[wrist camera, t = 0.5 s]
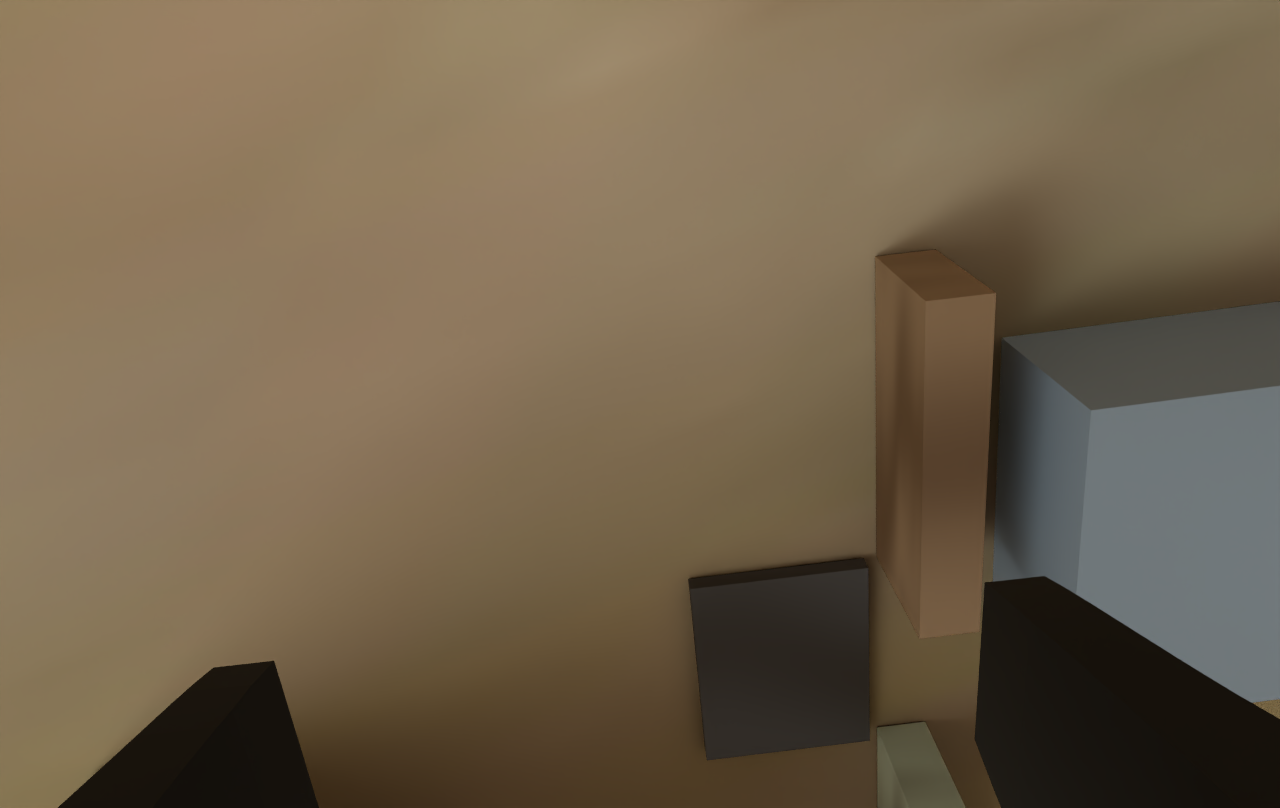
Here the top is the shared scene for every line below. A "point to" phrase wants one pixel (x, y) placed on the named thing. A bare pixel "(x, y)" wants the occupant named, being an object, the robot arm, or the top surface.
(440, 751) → the top surface
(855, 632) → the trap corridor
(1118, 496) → the slate block
